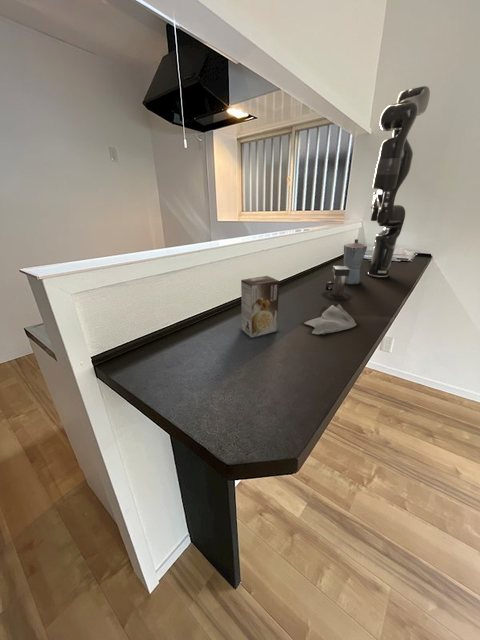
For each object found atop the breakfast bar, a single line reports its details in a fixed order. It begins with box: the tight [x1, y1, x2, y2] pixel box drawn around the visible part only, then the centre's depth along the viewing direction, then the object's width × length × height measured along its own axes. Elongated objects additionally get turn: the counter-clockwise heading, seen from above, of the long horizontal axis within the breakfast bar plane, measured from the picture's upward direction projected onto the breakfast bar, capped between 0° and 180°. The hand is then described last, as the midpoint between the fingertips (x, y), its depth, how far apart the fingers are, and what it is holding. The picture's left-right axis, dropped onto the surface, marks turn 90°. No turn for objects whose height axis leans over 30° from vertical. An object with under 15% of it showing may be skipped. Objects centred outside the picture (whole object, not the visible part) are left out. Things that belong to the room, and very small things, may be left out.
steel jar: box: [325, 265, 350, 297], centre depth 105 cm, size 7×5×11 cm
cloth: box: [303, 303, 357, 336], centre depth 86 cm, size 26×14×2 cm, turn 139°
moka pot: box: [343, 238, 368, 285], centre depth 120 cm, size 10×15×20 cm, turn 158°
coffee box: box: [240, 275, 280, 339], centre depth 77 cm, size 9×6×16 cm
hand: (376, 221), depth 101 cm, fingers open, 8 cm apart
